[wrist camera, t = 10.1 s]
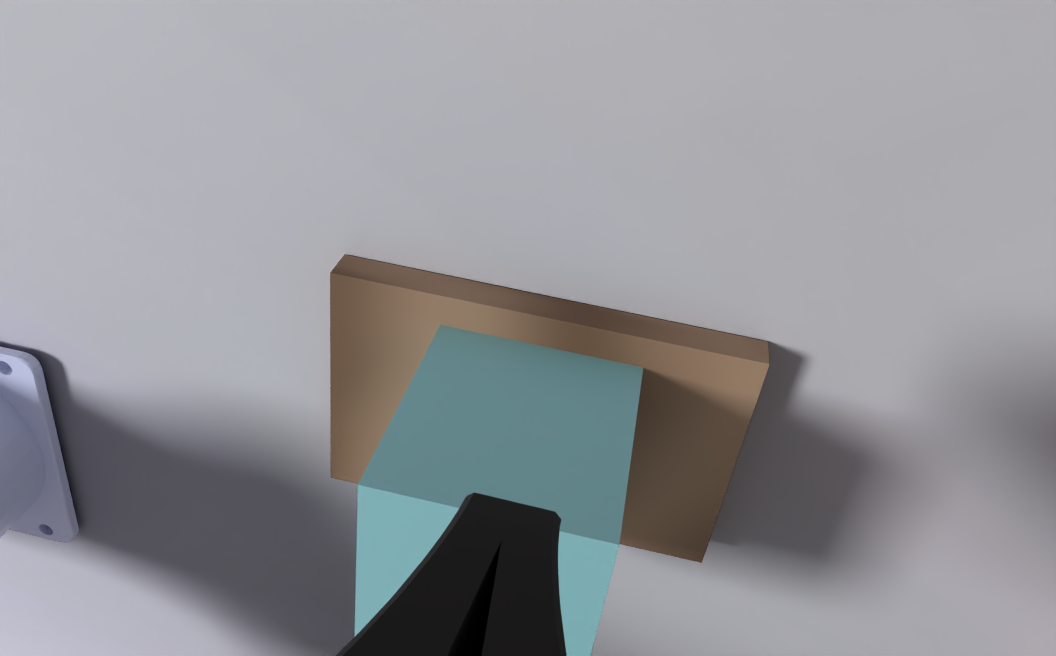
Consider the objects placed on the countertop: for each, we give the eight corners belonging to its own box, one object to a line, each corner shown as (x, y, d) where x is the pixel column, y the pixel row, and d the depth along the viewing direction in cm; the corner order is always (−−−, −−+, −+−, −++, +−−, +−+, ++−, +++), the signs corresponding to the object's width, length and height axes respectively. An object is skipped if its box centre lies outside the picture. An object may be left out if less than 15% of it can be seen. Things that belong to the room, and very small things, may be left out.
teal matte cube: (427, 475, 25) (353, 650, 20) (440, 324, 22) (357, 484, 17) (607, 516, 25) (577, 705, 20) (643, 367, 22) (619, 545, 17)
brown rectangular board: (342, 455, 27) (270, 584, 22) (344, 254, 23) (257, 364, 19) (702, 537, 26) (697, 688, 21) (767, 341, 22) (778, 478, 18)
